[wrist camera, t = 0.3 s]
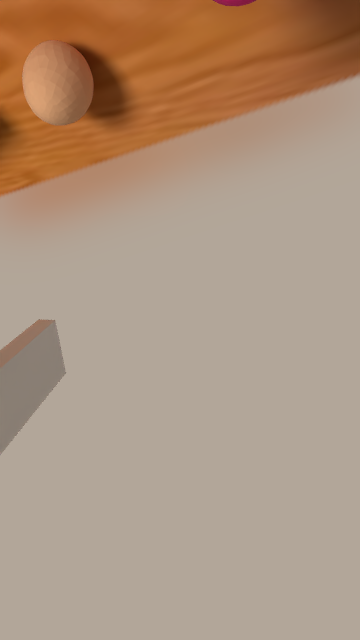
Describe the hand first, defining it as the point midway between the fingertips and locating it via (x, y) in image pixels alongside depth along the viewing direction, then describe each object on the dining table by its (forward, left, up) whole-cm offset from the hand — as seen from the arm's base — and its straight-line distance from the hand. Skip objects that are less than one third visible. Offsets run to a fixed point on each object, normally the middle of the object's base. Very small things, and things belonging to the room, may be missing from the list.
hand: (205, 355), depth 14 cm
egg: (-6, -16, -35) cm, 39 cm away
